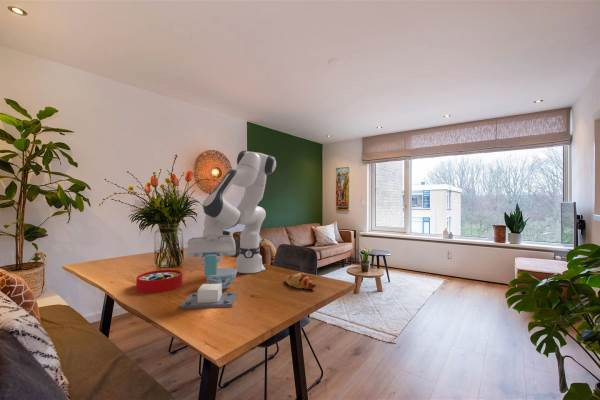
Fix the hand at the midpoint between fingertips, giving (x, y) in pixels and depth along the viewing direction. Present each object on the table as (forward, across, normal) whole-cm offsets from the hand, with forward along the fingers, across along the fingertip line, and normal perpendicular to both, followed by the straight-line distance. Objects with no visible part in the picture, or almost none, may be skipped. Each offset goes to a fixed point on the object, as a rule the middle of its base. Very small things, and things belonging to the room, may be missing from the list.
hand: (210, 263), depth 112 cm
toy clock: (-8, -26, +31) cm, 41 cm away
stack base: (+11, 0, +12) cm, 16 cm away
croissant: (+2, +41, +21) cm, 46 cm away
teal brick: (+3, 0, +4) cm, 4 cm away
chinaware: (-2, +3, +25) cm, 25 cm away
